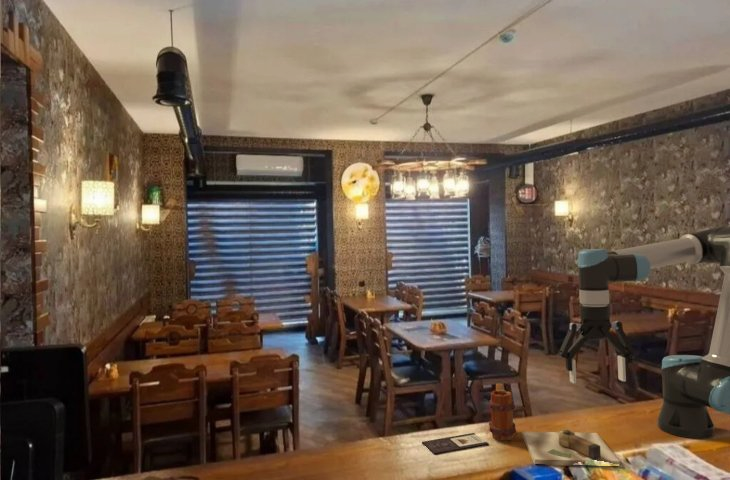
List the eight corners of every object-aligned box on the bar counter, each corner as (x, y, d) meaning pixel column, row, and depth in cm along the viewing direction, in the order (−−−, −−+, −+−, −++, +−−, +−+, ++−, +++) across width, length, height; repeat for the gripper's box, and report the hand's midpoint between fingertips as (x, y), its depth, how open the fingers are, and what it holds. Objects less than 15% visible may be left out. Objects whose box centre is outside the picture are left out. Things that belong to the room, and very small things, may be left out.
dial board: (596, 437, 156) (596, 432, 156) (619, 466, 136) (619, 460, 136) (522, 436, 159) (522, 431, 159) (534, 464, 139) (534, 458, 139)
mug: (517, 444, 153) (516, 394, 153) (489, 443, 155) (488, 394, 155) (513, 426, 167) (512, 381, 167) (488, 425, 169) (486, 380, 169)
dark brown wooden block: (555, 442, 149) (555, 429, 149) (567, 440, 151) (566, 427, 151) (590, 460, 137) (590, 446, 137) (603, 457, 139) (602, 443, 139)
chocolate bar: (421, 441, 157) (473, 432, 162) (421, 444, 157) (473, 435, 162) (434, 453, 148) (488, 443, 154) (434, 456, 148) (488, 446, 154)
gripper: (632, 301, 145) (635, 375, 145) (544, 304, 145) (547, 379, 145) (646, 304, 138) (650, 383, 138) (554, 308, 138) (557, 387, 138)
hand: (597, 381), depth 141 cm, fingers open, 13 cm apart
